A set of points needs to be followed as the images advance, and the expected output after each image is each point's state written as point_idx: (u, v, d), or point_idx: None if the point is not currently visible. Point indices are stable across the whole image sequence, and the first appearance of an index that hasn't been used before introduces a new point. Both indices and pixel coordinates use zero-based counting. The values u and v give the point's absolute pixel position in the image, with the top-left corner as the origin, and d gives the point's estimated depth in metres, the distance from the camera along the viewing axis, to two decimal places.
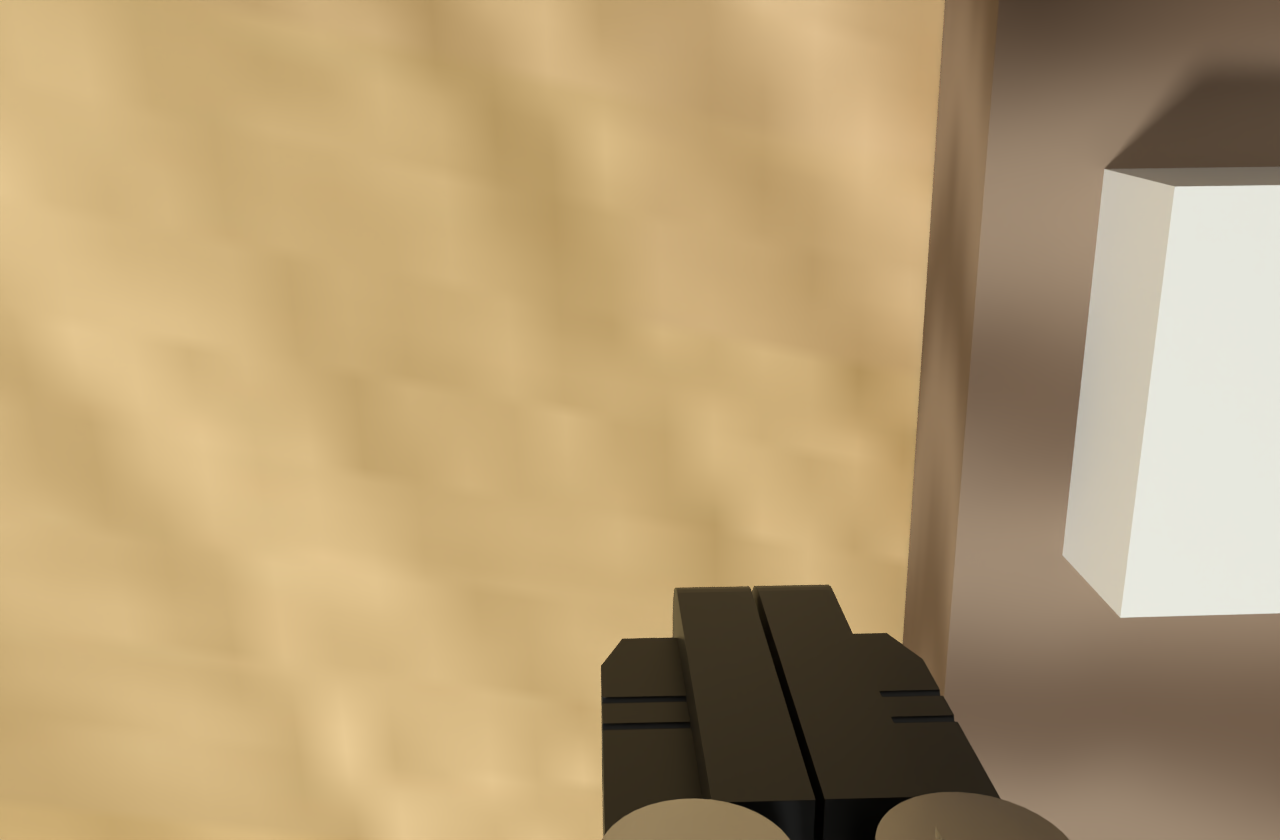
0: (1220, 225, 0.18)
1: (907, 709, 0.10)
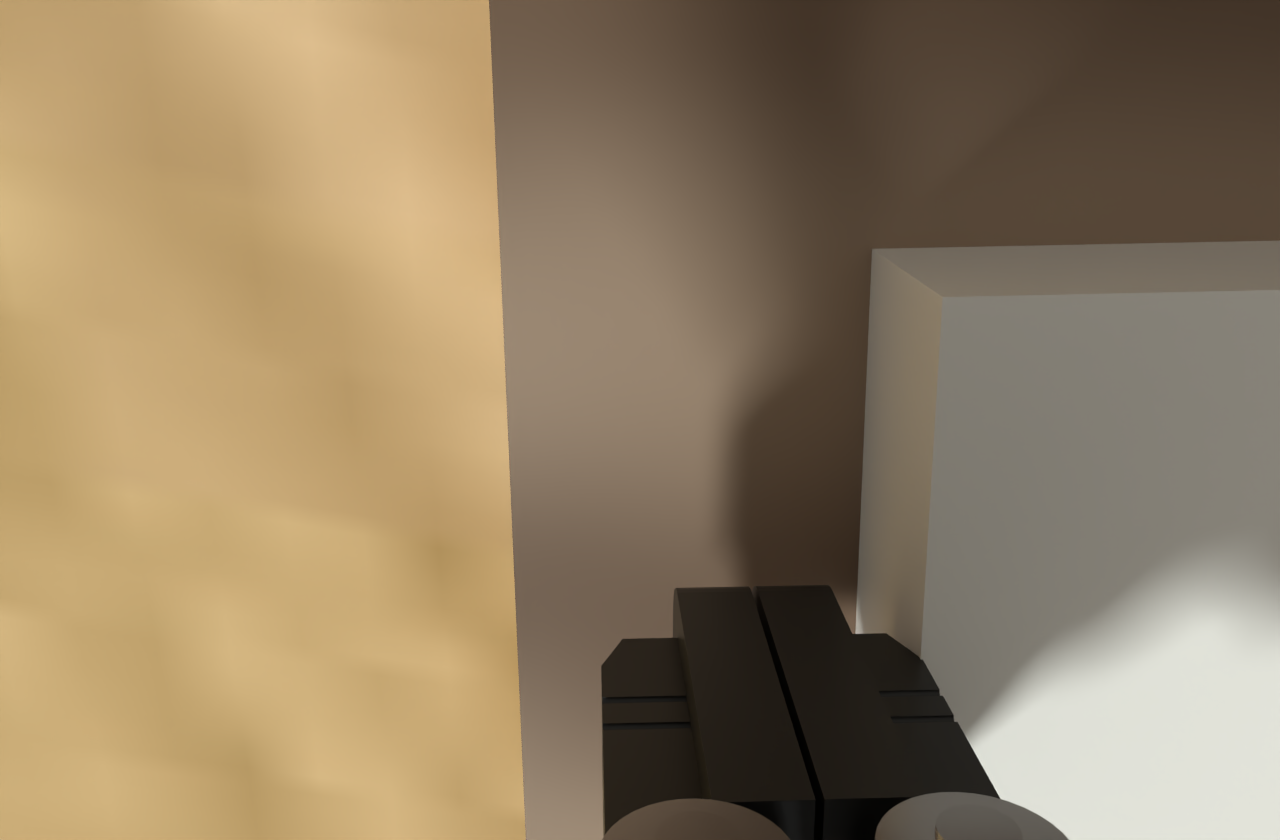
0: (1032, 363, 0.10)
1: (907, 709, 0.10)
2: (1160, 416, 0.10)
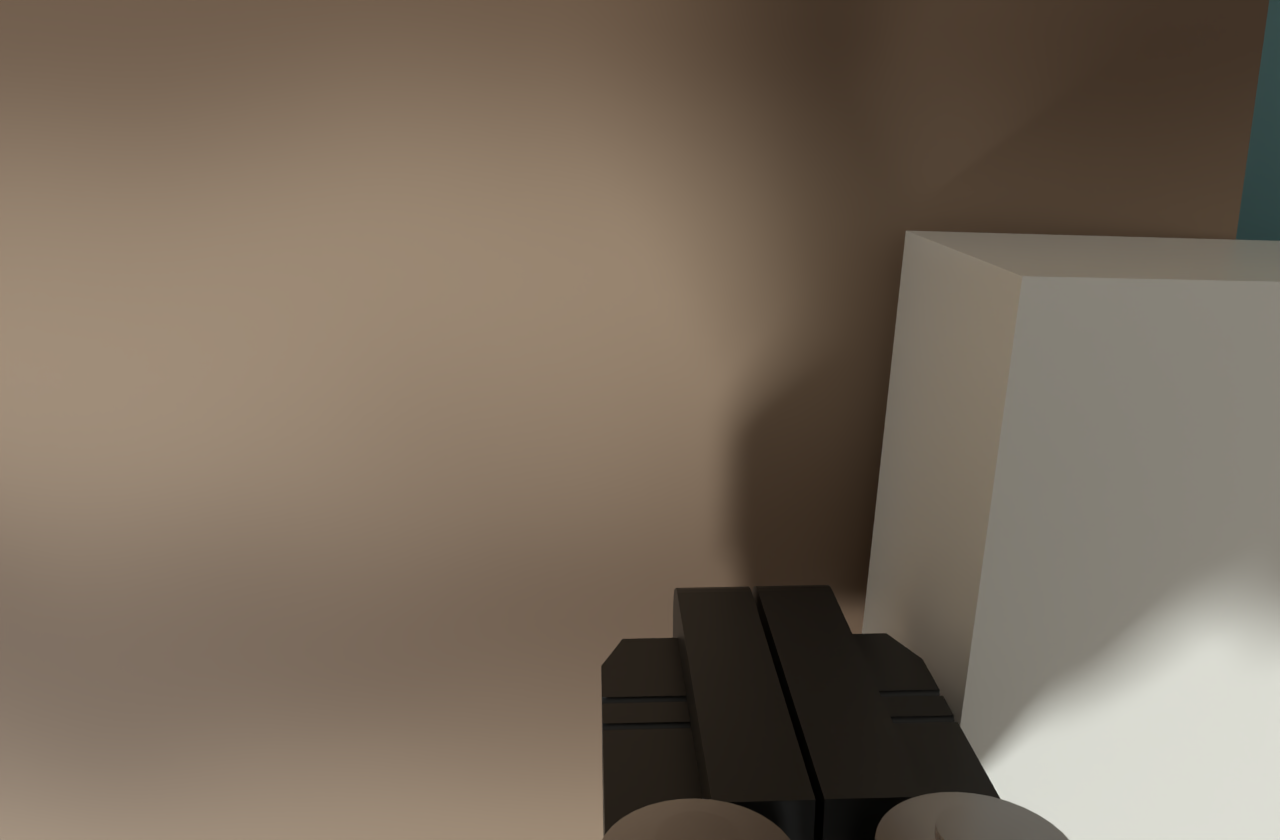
0: (1104, 350, 0.09)
1: (906, 709, 0.10)
2: (1222, 407, 0.10)
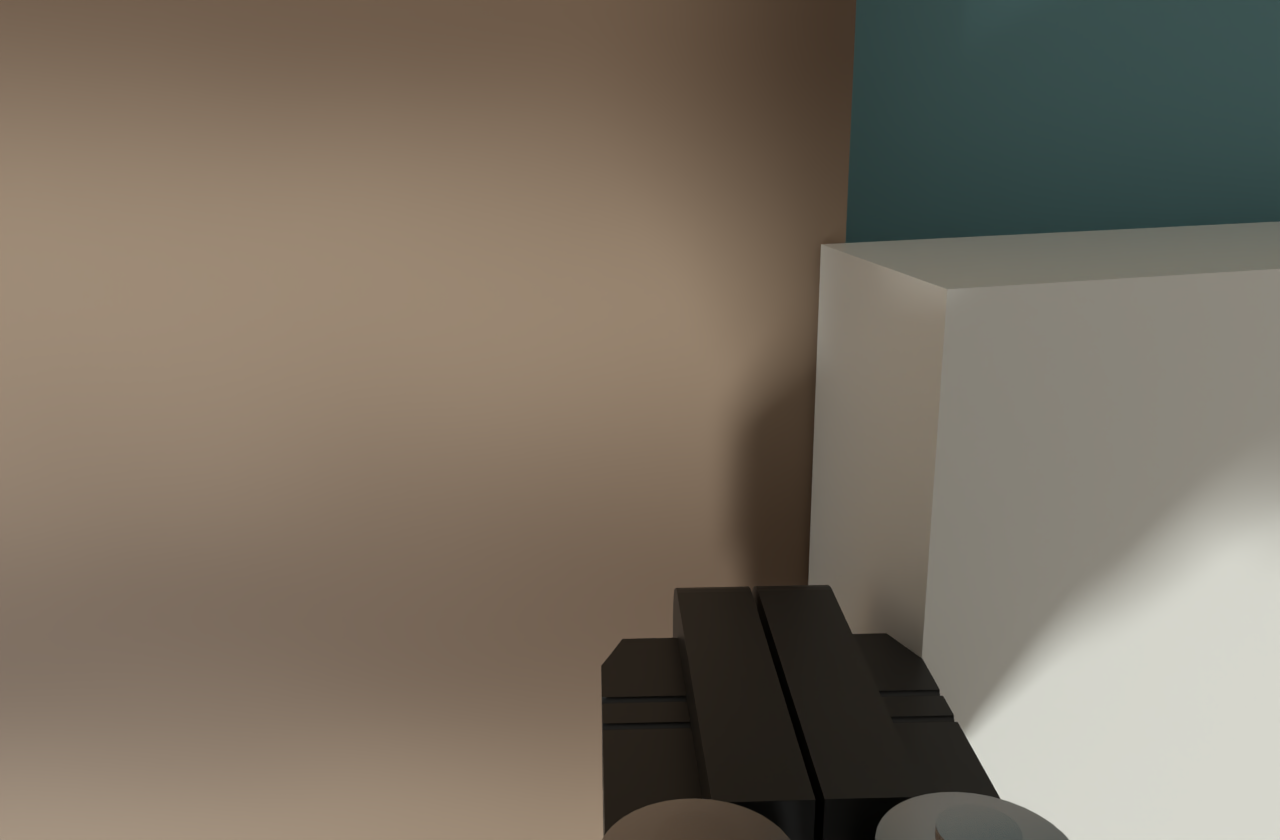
0: (1027, 351, 0.10)
1: (907, 709, 0.10)
2: (1135, 395, 0.10)
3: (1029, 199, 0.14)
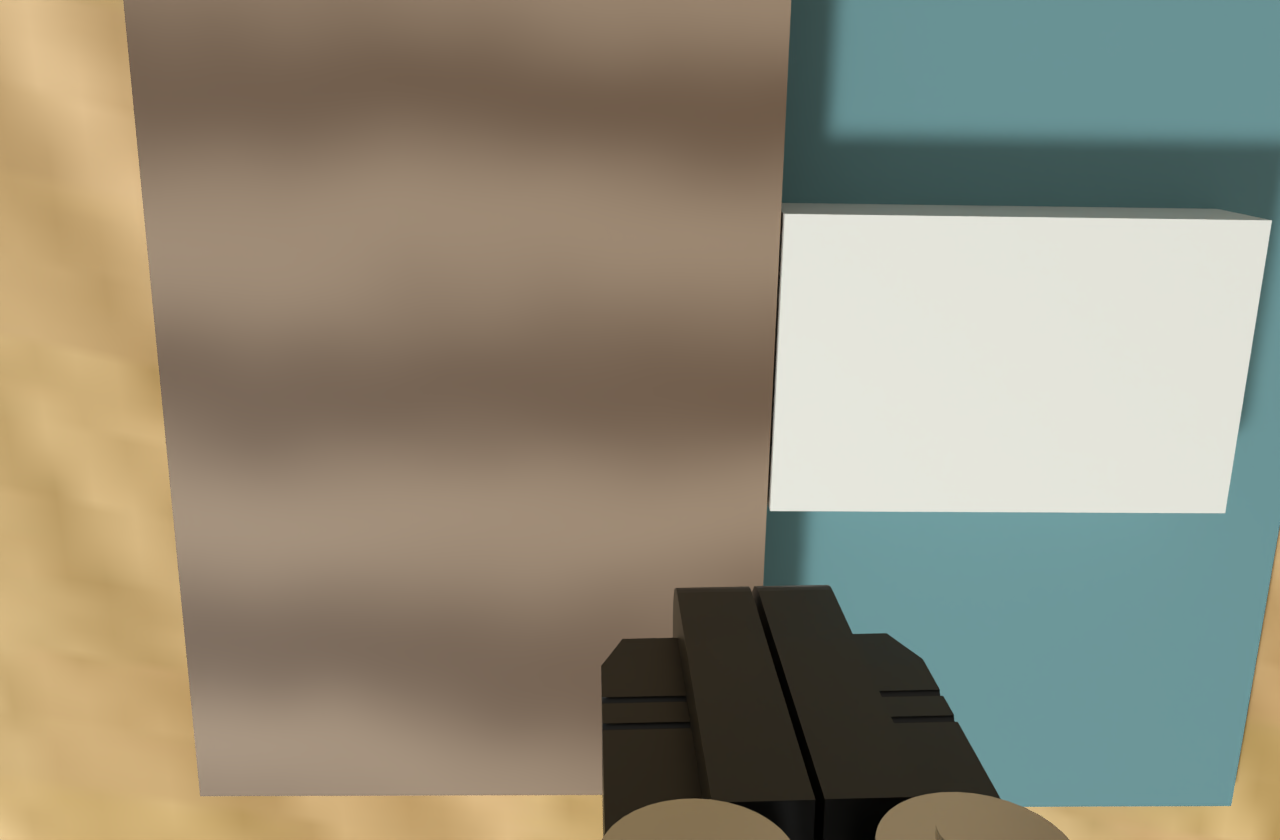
0: (817, 240, 0.27)
1: (907, 709, 0.10)
2: (866, 261, 0.27)
3: (878, 198, 0.29)
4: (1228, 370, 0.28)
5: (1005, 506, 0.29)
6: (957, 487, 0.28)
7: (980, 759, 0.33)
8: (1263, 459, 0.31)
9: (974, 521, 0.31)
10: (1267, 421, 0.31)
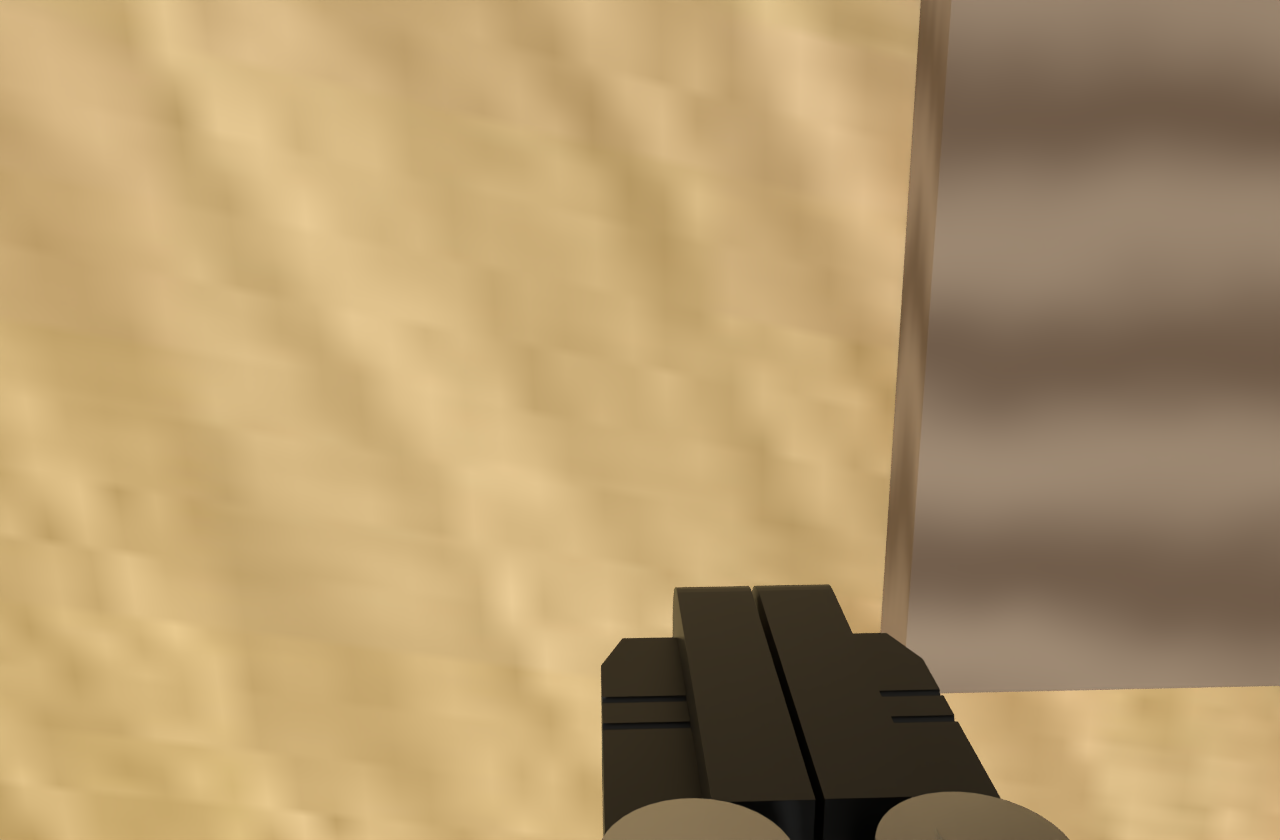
0: None
1: (907, 710, 0.10)
2: None
3: None
4: None
5: None
6: None
7: None
8: None
9: None
10: None
